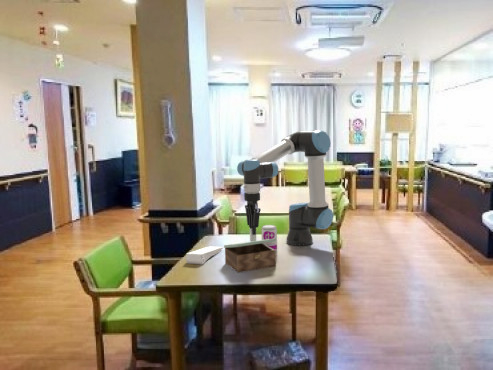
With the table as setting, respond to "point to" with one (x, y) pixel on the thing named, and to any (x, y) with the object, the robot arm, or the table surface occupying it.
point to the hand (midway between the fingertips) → (253, 240)
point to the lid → (249, 243)
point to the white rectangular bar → (202, 254)
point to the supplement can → (269, 235)
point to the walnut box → (250, 257)
